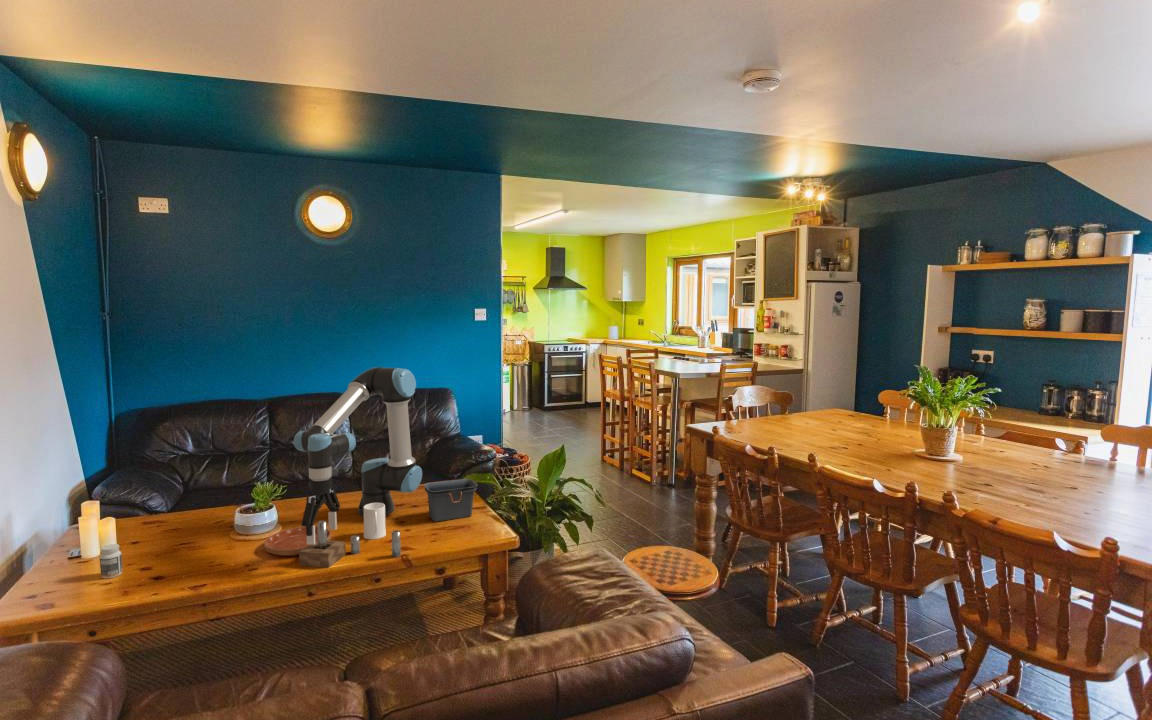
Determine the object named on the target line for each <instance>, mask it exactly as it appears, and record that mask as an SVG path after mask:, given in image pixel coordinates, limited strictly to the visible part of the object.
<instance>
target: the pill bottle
mask: <svg viewBox="0 0 1152 720" xmlns="http://www.w3.org/2000/svg"><path fill="white" fill-rule="evenodd" d="M100 552H101V554H100V556H99V565H100V566H99V568H100V576H101V578H102V579H105V580H106V579H107V580H108V579H113V578H116V577H119V576H120V575H122V573H123V571H124V570H123V557H122V556H123V555H122V554H123V553H122V551H121V550H120V545H119V544H118V543H114V544H113V543H112V544H107V545H104V546H102V547H101V550H100Z"/></svg>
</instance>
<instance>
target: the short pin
mask: <svg viewBox="0 0 1152 720" xmlns="http://www.w3.org/2000/svg"><path fill="white" fill-rule="evenodd" d="M360 542H361V541H360V535H357V534H356V535H354V534H353V535H352V536H350V554H352V555H357V554H358V555H359V554H360V549H361V548H360V547H361V545H360Z"/></svg>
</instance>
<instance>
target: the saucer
mask: <svg viewBox="0 0 1152 720" xmlns="http://www.w3.org/2000/svg"><path fill="white" fill-rule="evenodd" d="M317 539H318V527H317V525H315V541H316V540H317ZM331 539H332V532H331V529H329V528H327V540H331ZM263 545H264V550H265V551H266V552H267V553H269V554H272V555H276V556H279V557H280V556H281V557H289V556H290V557H291V556H293V557H294V556H299V551H301V550H302V549H304V548H305V547H307V546H308V545H310V544H307V535H306V527H304V526H297V527H292V528H288V529H284V530H281V531H278V532H276V533H273V534H272V535H270V536H268V537H267V538H266V539H265V540H264V543H263Z"/></svg>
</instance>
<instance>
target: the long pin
mask: <svg viewBox="0 0 1152 720" xmlns="http://www.w3.org/2000/svg"><path fill="white" fill-rule="evenodd" d="M327 524H328V523H327V520H318V521H317V525H316V526H317V527H318V549H324V550H325V549H326V548H327V529H328V528H327V526H328V525H327Z"/></svg>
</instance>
